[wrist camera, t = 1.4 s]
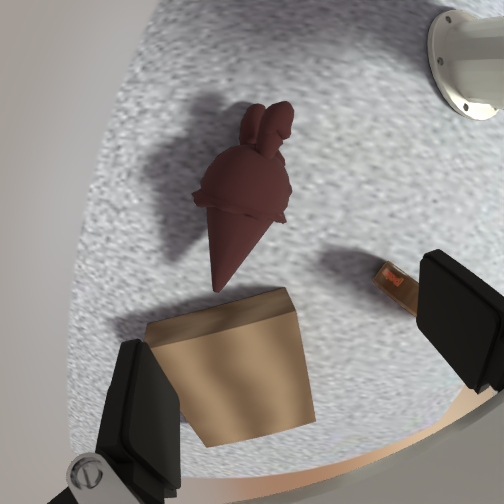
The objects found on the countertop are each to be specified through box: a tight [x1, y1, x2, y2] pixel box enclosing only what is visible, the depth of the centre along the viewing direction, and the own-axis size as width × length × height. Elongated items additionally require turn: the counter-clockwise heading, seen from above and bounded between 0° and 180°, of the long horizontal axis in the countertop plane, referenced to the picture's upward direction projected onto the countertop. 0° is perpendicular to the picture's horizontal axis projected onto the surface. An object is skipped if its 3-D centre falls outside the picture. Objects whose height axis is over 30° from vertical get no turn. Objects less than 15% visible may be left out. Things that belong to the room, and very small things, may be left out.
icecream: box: [191, 101, 294, 293], centre depth 23 cm, size 7×7×15 cm
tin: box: [372, 261, 419, 317], centre depth 29 cm, size 15×3×8 cm, turn 57°
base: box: [144, 287, 316, 448], centre depth 32 cm, size 14×18×4 cm
